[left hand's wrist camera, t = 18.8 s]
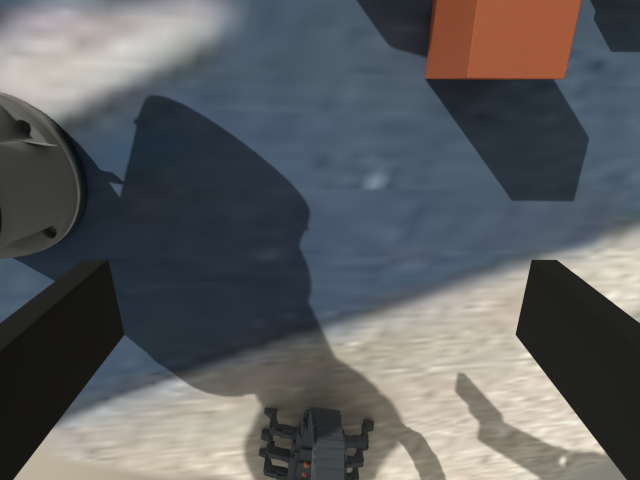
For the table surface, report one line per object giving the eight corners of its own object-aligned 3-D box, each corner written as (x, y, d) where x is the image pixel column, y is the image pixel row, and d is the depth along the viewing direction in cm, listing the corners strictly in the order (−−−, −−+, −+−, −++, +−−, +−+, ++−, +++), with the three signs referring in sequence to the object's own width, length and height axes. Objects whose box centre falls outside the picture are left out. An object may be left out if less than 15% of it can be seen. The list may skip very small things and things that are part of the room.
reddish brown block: (424, 78, 35) (466, 78, 25) (432, -1, 33) (482, -38, 22) (493, 79, 35) (564, 79, 25) (506, 0, 33) (589, -37, 22)
